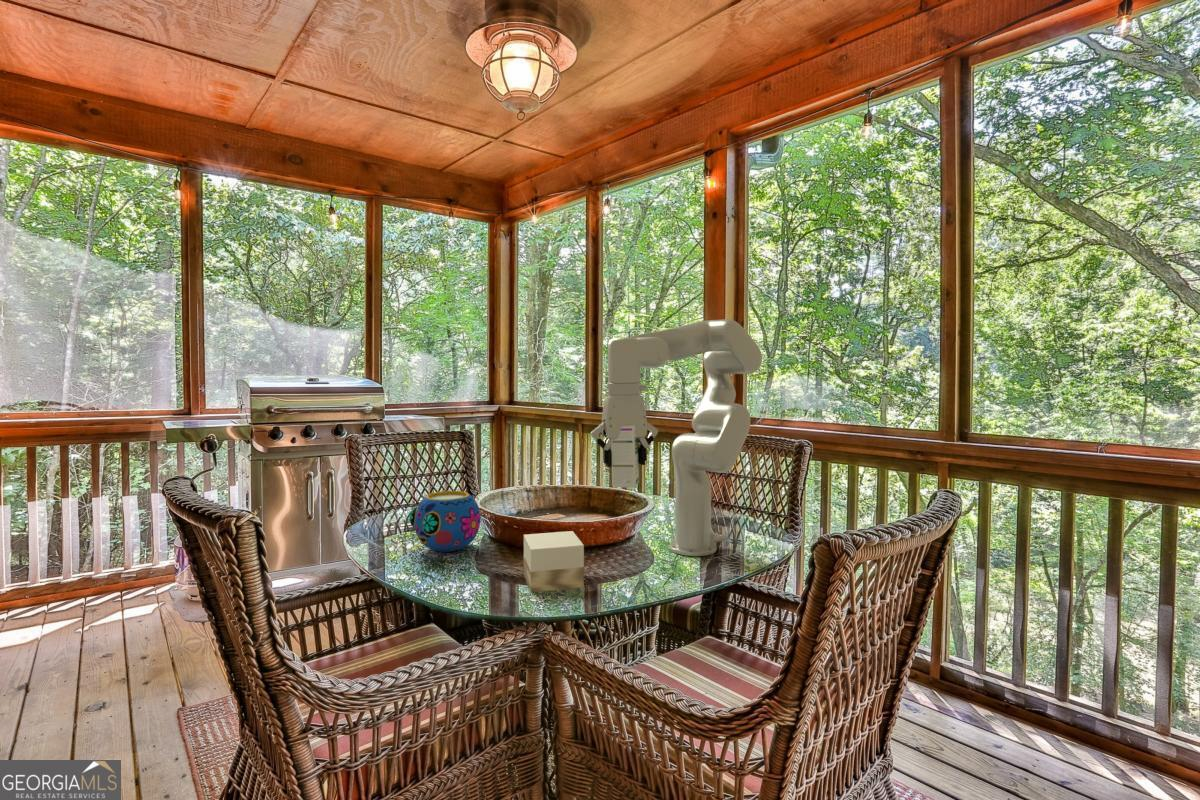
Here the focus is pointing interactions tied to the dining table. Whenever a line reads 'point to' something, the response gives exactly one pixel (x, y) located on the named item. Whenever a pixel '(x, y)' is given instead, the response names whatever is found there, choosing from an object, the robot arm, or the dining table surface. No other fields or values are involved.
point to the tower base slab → (553, 578)
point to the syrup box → (625, 458)
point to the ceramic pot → (446, 520)
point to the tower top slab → (553, 551)
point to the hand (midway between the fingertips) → (625, 464)
